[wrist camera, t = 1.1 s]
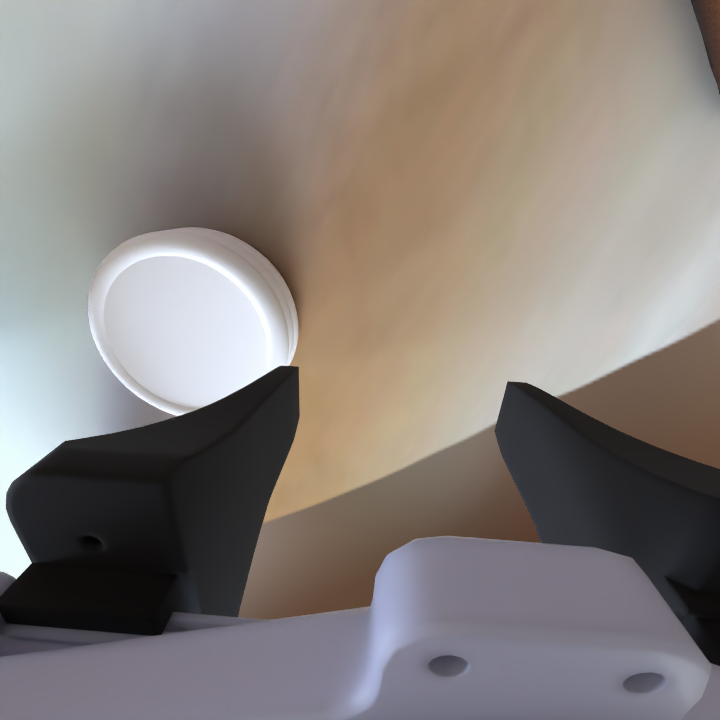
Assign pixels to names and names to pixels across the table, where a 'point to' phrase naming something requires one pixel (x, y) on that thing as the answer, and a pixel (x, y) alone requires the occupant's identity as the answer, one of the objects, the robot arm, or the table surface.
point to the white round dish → (190, 316)
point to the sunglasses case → (710, 31)
